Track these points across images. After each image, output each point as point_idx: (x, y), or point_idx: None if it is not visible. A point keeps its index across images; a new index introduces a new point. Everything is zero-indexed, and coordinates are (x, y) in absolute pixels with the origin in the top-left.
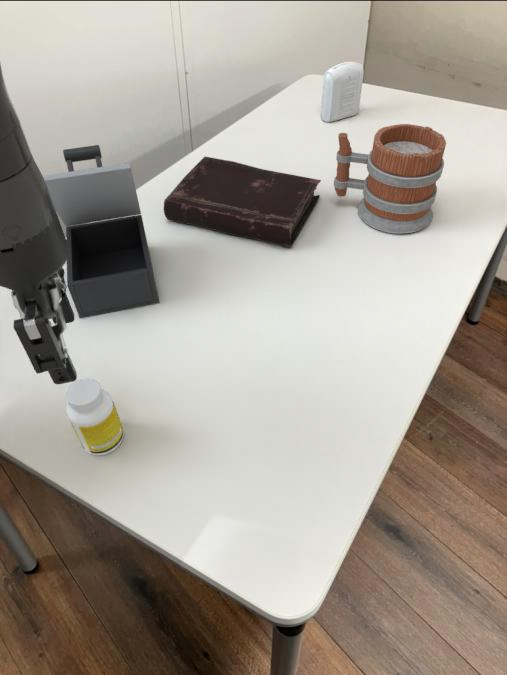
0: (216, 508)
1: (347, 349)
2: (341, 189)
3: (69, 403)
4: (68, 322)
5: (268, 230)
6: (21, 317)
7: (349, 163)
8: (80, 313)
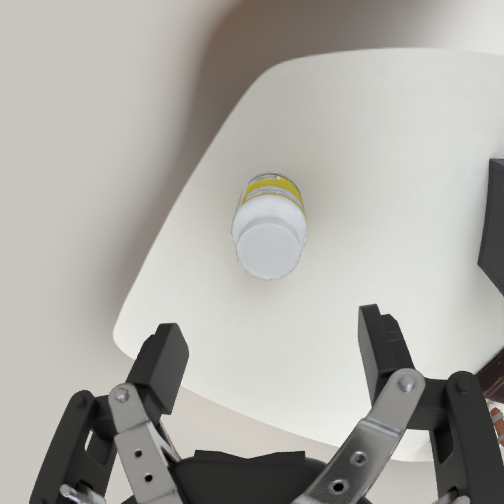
0: (179, 312)
1: (338, 408)
2: (493, 415)
3: (244, 230)
4: (358, 328)
5: (494, 376)
6: (131, 484)
7: (498, 436)
8: (494, 164)
